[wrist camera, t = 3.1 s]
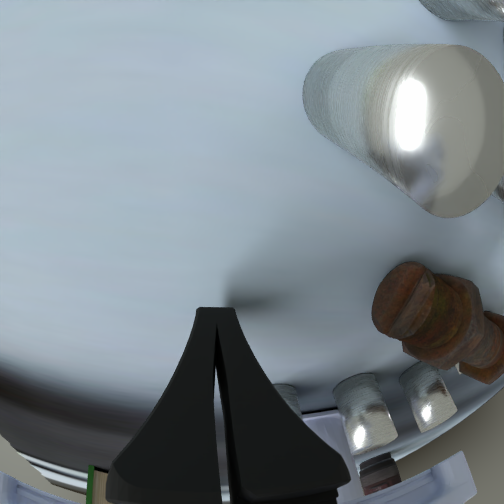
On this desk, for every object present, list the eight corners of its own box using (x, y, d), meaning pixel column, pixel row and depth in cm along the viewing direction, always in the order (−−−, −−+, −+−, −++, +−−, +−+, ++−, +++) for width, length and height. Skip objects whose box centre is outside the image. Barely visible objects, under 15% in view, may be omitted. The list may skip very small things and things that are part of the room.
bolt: (370, 232, 13) (474, 310, 18) (330, 331, 13) (452, 367, 18) (475, 242, 7) (529, 326, 13) (423, 385, 7) (504, 390, 12)
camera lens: (350, 468, 45) (365, 524, 33) (364, 459, 40) (382, 522, 28) (382, 458, 46) (398, 511, 34) (399, 447, 41) (418, 506, 29)
